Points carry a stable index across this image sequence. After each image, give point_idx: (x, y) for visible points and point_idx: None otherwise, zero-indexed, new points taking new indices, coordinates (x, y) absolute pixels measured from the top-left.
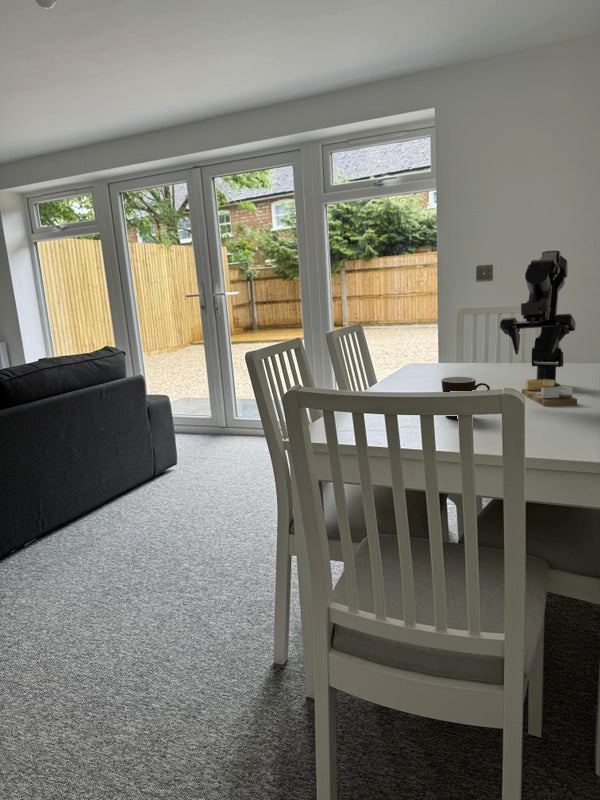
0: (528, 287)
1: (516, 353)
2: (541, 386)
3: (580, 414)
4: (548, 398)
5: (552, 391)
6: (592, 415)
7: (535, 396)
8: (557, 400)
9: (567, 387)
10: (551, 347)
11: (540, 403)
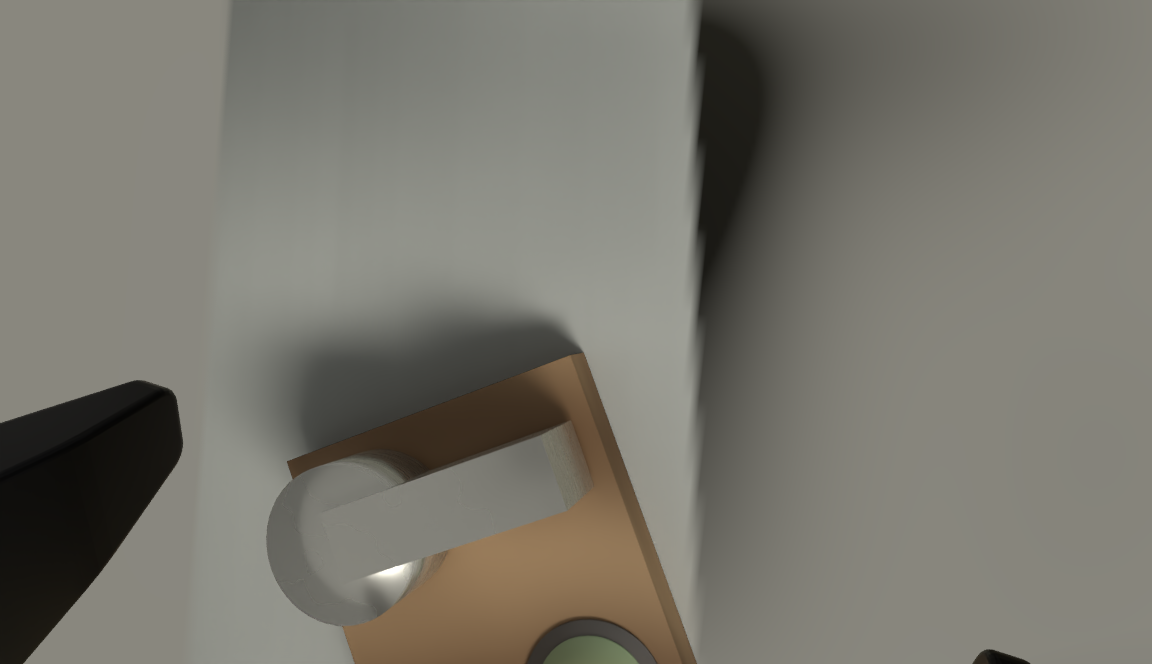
0: None
1: (990, 655)
2: None
3: (309, 73)
4: None
5: (464, 460)
6: (231, 59)
7: (650, 574)
8: (450, 401)
9: (309, 564)
10: (69, 431)
11: (610, 431)
